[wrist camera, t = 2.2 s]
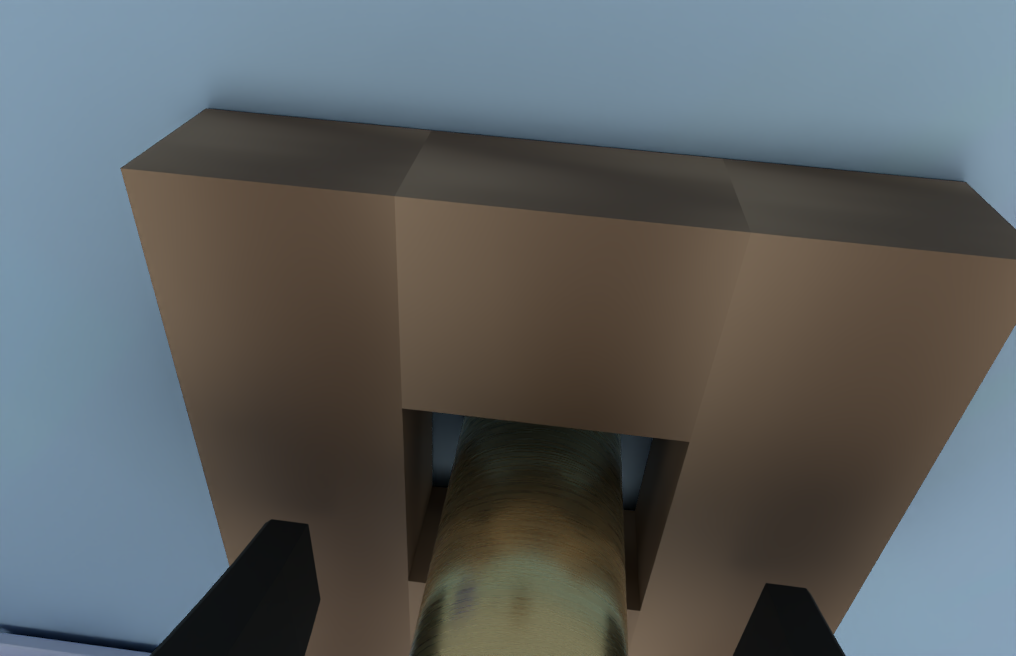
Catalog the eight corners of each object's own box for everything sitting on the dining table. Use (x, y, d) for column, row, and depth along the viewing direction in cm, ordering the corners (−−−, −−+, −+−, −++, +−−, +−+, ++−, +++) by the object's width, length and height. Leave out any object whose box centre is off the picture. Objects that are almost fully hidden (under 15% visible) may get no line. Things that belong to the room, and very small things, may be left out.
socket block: (292, 565, 18) (254, 656, 16) (206, 108, 11) (120, 168, 9) (757, 626, 18) (778, 728, 16) (966, 182, 11) (1051, 263, 9)
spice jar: (463, 467, 16) (344, 1029, 8) (467, 353, 14) (318, 947, 6) (608, 484, 15) (616, 1074, 8) (631, 372, 14) (670, 1004, 6)
